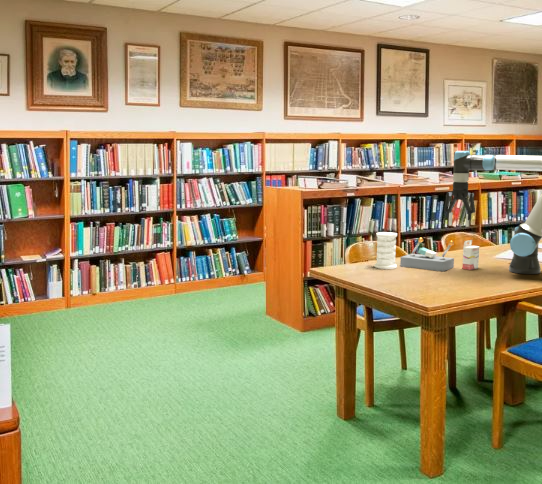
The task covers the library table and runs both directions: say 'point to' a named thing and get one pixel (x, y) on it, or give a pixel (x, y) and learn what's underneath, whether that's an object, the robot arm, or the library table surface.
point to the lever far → (417, 244)
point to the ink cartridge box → (470, 256)
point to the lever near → (448, 247)
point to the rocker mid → (427, 252)
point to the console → (427, 262)
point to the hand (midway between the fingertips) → (458, 225)
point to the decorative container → (386, 250)
